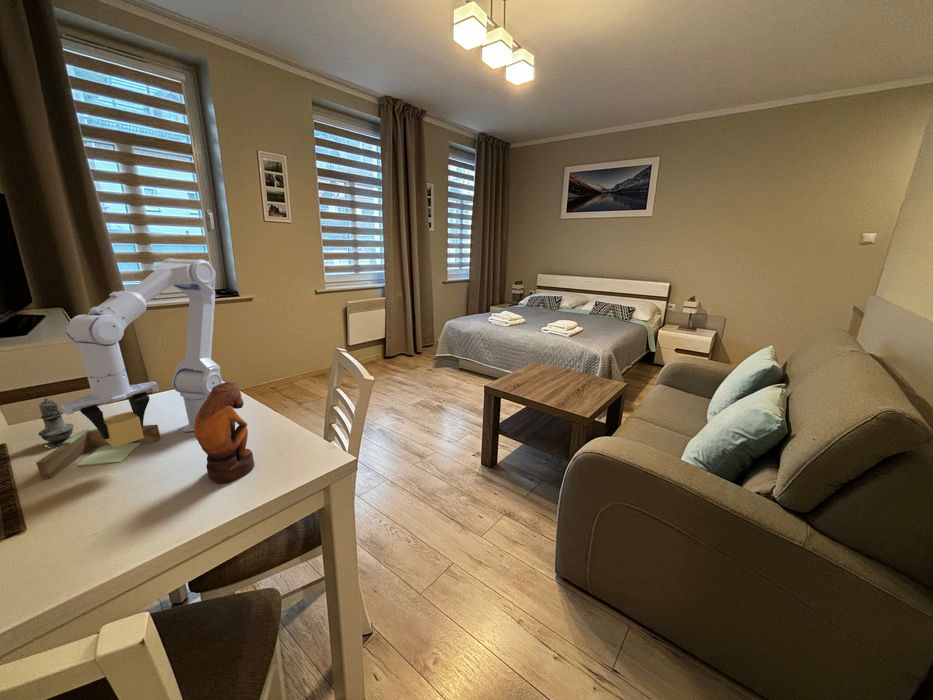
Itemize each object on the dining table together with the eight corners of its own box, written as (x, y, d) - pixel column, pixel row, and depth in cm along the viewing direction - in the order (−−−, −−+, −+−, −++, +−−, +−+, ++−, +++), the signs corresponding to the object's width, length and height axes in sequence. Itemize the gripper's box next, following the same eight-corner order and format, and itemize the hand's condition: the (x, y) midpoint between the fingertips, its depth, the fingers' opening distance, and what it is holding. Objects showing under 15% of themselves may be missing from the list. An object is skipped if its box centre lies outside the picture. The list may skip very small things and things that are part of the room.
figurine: (264, 463, 85) (251, 382, 79) (225, 488, 76) (208, 400, 70) (235, 455, 87) (221, 376, 81) (195, 478, 79) (176, 392, 73)
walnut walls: (160, 438, 93) (156, 422, 92) (126, 470, 80) (121, 453, 79) (89, 444, 90) (84, 427, 88) (42, 479, 77) (35, 460, 76)
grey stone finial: (54, 450, 87) (39, 404, 83) (36, 447, 88) (19, 401, 84) (84, 438, 92) (70, 394, 89) (66, 435, 94) (51, 391, 90)
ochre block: (135, 431, 83) (130, 410, 81) (144, 437, 80) (139, 417, 79) (105, 440, 79) (100, 419, 77) (113, 447, 76) (108, 426, 75)
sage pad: (141, 443, 91) (141, 442, 91) (120, 462, 83) (120, 460, 83) (102, 446, 89) (102, 445, 89) (78, 466, 82) (77, 464, 81)
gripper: (61, 388, 67) (82, 453, 71) (158, 367, 79) (171, 423, 83) (51, 379, 71) (71, 442, 75) (145, 360, 82) (158, 415, 86)
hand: (123, 431), depth 79 cm, fingers closed on ochre block, 5 cm apart
